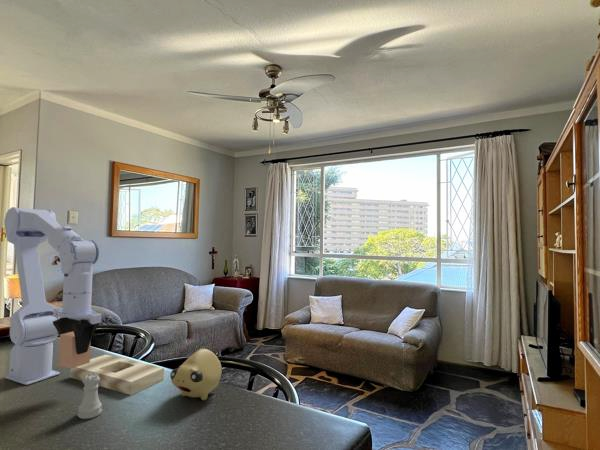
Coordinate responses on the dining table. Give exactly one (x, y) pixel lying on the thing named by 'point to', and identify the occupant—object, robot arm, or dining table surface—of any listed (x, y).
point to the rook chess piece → (90, 398)
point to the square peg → (71, 352)
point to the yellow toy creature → (198, 374)
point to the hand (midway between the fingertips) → (75, 351)
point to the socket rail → (120, 373)
